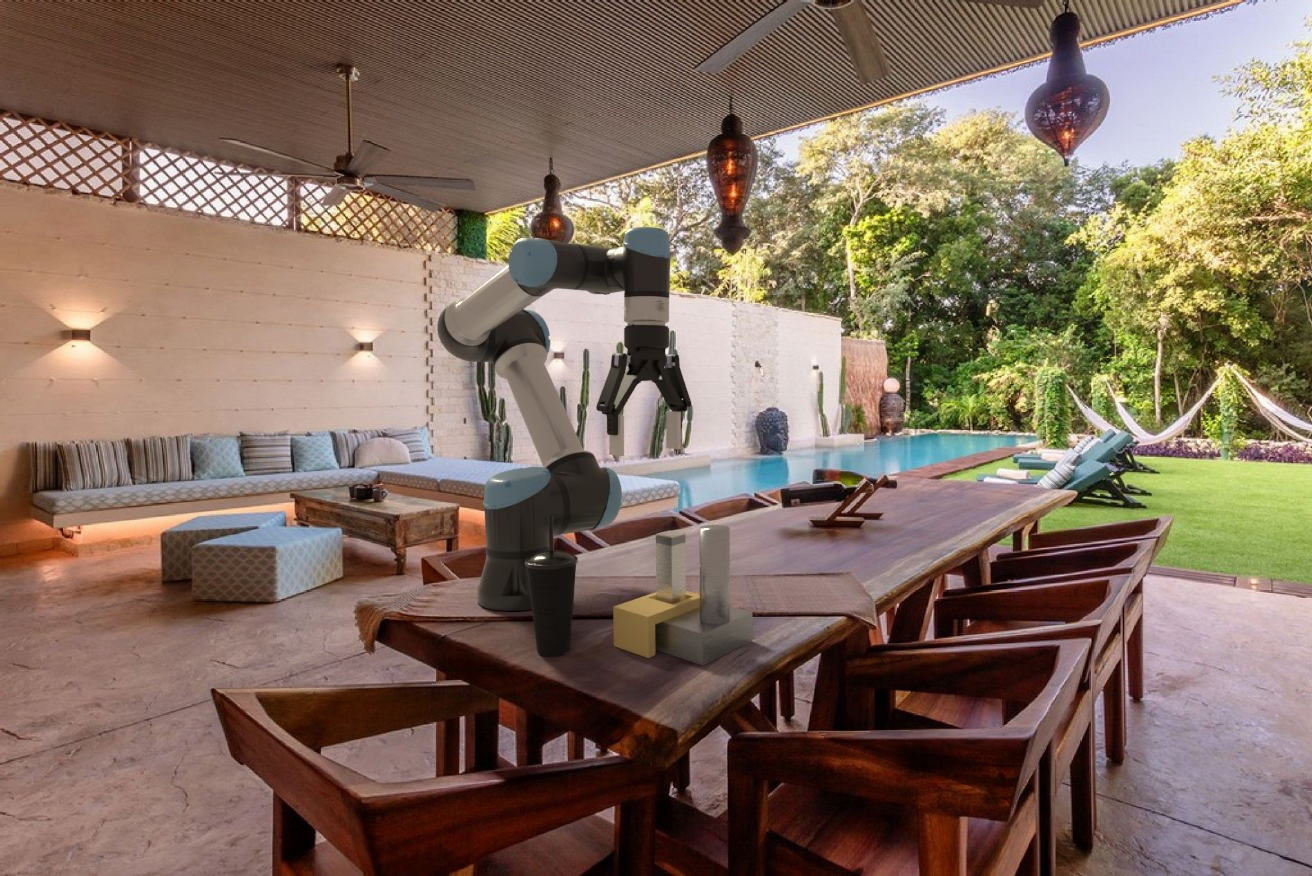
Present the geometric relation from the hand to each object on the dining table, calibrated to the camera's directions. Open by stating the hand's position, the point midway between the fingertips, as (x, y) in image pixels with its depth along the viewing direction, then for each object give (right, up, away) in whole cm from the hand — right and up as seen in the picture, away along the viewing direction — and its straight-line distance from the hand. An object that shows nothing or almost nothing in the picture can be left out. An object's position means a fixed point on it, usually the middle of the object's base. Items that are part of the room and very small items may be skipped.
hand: (646, 452), depth 119 cm
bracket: (+2, -28, -12) cm, 31 cm away
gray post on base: (+6, -28, -12) cm, 31 cm away
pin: (+4, -28, -10) cm, 30 cm away
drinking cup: (-13, -29, -15) cm, 36 cm away
